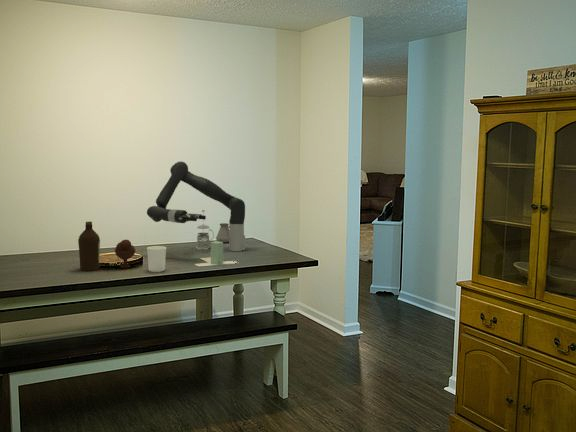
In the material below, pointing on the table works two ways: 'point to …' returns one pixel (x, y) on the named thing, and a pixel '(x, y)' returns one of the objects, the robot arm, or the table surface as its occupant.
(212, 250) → the green block
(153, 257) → the candle holder
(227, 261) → the T mat
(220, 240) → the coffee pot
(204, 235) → the french press
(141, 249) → the table surface
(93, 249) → the olive oil
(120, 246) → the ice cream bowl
